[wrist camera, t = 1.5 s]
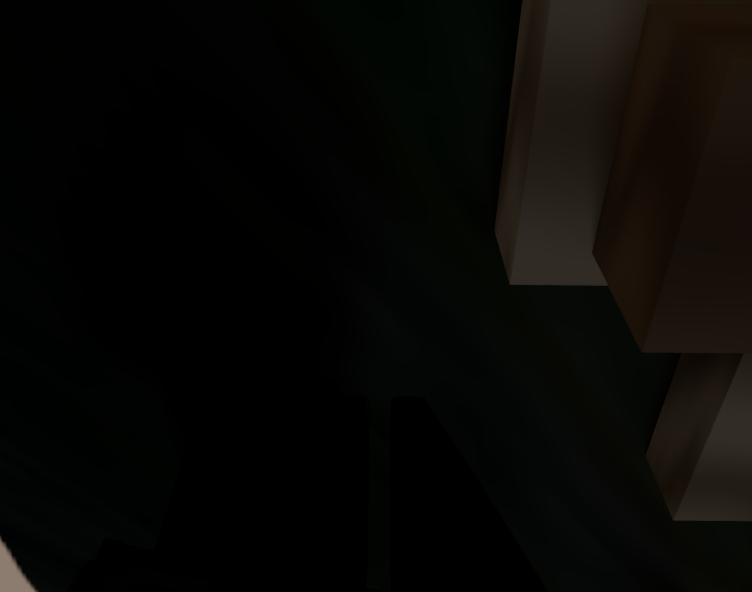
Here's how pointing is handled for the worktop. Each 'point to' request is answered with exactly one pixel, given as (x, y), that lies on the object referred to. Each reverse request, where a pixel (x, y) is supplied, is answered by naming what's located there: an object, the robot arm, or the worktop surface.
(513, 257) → the trap deck
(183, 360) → the worktop surface
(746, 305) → the walnut block
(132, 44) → the worktop surface
